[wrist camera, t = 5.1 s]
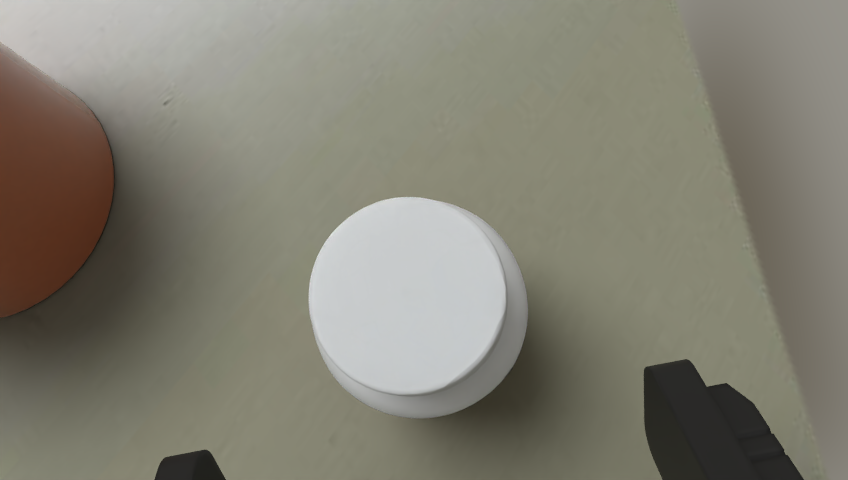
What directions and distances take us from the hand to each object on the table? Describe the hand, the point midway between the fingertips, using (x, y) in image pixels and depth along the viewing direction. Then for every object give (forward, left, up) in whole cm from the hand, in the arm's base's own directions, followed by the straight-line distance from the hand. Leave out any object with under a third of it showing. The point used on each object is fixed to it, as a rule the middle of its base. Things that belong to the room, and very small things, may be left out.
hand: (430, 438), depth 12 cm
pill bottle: (+2, -1, -9) cm, 10 cm away
